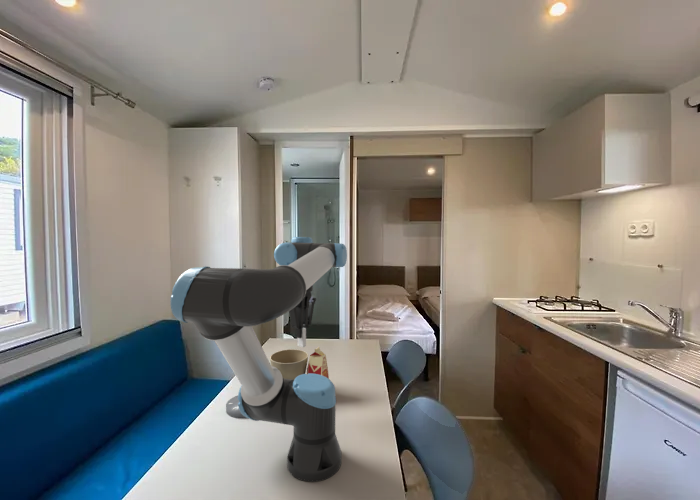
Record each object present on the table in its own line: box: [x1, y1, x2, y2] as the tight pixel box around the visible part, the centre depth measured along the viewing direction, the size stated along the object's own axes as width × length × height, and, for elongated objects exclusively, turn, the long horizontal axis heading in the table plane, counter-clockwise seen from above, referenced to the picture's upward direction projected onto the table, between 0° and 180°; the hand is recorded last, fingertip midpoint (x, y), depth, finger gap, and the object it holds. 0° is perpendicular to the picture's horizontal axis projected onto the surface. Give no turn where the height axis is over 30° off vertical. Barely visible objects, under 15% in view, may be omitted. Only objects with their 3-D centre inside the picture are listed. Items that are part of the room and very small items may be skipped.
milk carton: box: [306, 346, 330, 379], centre depth 128 cm, size 9×9×20 cm
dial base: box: [225, 394, 246, 419], centre depth 120 cm, size 14×14×2 cm
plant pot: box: [269, 348, 309, 380], centre depth 129 cm, size 15×15×16 cm
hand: (301, 346), depth 116 cm, fingers closed
